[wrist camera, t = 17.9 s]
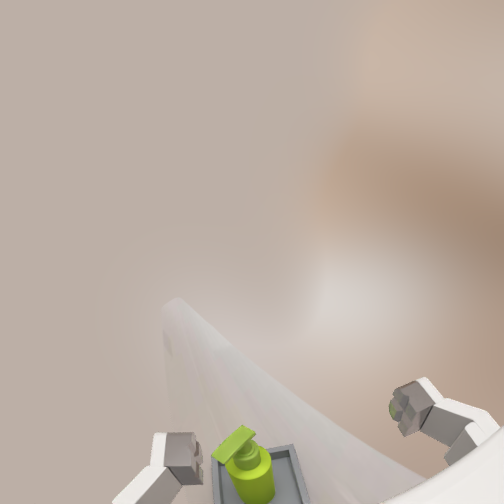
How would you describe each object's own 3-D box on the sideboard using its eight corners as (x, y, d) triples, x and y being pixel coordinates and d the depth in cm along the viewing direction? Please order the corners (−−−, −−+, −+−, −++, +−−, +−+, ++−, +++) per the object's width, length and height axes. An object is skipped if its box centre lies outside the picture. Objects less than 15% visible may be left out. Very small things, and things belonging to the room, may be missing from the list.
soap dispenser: (227, 498, 31) (196, 444, 24) (253, 473, 36) (237, 408, 29) (256, 516, 27) (238, 471, 21) (282, 488, 32) (278, 429, 26)
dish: (311, 515, 27) (312, 510, 25) (220, 528, 25) (215, 523, 24) (293, 452, 40) (293, 443, 39) (215, 463, 39) (211, 455, 37)
